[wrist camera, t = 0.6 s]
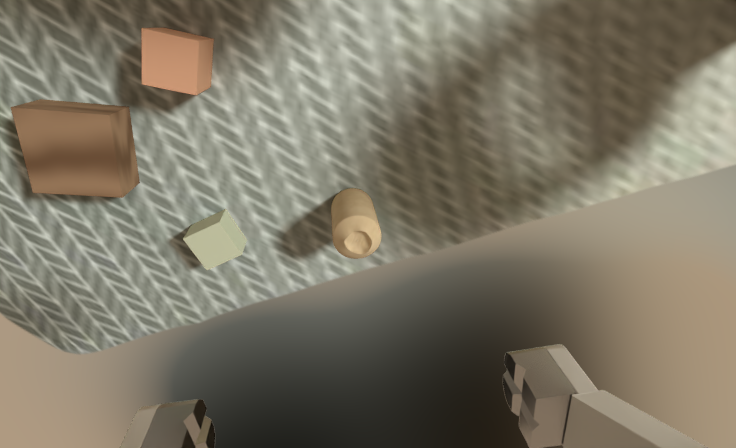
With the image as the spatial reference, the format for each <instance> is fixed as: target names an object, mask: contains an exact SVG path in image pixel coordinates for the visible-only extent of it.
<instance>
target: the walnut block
mask: <svg viewBox="0 0 736 448" xmlns="http://www.w3.org/2000/svg"><path fill="white" fill-rule="evenodd" d="M11 110H12V114H13V118H14V122H15V125H16V129H17V133H18V137H19V141H20V145H21V148H22V152H23V156H24V160H25V164H26V168H27V172H28V175H29V179H30V183H31V187H32V191H33V193H48V194H66V195H85V196H103V197H121V198H123V197H124V196H125V195H126V194H127V193H128V192H130V191H131V190H132V189H133V188H134V187H135V186H136V185H138V184H139V183H140V182H139V174H138V167H137V160H136V153H135V146H134V139H133V132H132V125H131V118H130V111H129V107H126V106H114V105H102V104H90V103H78V102H66V101H53V100H41V99H40V100H36V101H33V102H29V103H25V104H21V105H18V106H14V107H11Z"/></svg>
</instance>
